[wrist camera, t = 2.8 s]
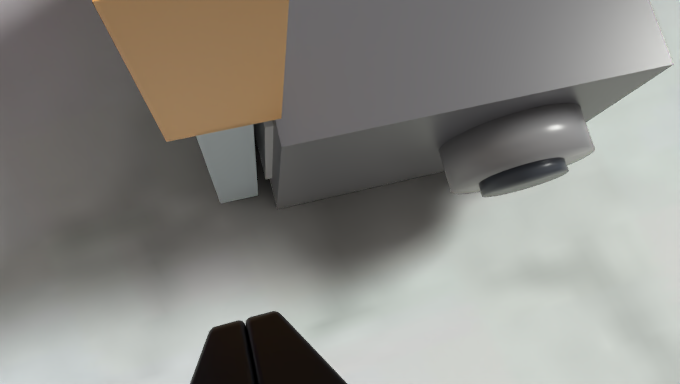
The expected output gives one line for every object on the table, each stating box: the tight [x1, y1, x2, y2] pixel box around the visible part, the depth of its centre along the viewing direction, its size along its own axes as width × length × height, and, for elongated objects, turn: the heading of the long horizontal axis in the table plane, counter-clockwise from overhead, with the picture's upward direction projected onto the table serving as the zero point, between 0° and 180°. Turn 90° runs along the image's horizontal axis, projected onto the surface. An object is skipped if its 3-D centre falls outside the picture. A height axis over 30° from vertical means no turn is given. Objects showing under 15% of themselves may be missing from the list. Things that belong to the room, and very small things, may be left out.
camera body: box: [253, 0, 674, 209], centre depth 18 cm, size 12×10×8 cm
